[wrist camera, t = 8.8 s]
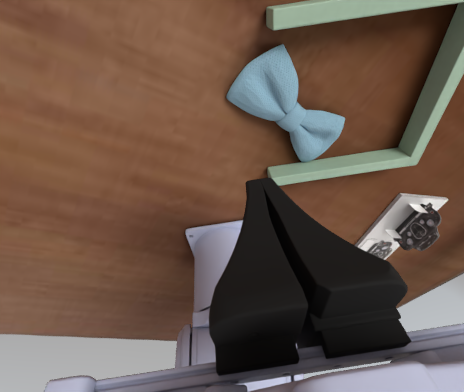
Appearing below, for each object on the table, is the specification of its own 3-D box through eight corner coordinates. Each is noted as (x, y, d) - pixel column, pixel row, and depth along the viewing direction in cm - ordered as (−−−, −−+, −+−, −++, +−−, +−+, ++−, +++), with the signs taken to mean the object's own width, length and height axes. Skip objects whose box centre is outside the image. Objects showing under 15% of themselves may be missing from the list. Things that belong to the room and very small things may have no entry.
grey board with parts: (399, 192, 26) (428, 222, 23) (445, 197, 28) (479, 225, 24) (336, 266, 36) (350, 294, 33) (373, 266, 37) (390, 294, 34)
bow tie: (360, 132, 19) (310, 173, 21) (350, 123, 20) (304, 163, 22) (277, 33, 14) (223, 100, 16) (270, 29, 15) (221, 93, 17)
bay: (404, 154, 23) (417, 164, 21) (267, 175, 23) (271, 187, 21) (485, -26, 14) (515, -28, 13) (265, 6, 14) (272, 8, 13)
